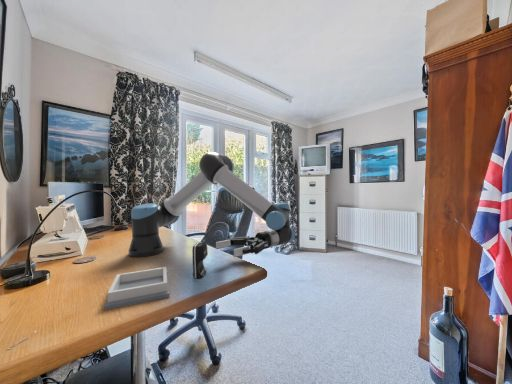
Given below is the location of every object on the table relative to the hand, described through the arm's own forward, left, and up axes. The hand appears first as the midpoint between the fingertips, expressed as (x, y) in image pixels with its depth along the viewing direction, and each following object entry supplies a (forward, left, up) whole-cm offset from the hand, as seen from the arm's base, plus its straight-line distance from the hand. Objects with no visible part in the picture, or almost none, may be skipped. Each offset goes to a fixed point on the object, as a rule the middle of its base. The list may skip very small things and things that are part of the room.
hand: (224, 249), depth 85 cm
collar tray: (+5, -29, -7) cm, 30 cm away
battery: (+2, -10, -8) cm, 12 cm away
